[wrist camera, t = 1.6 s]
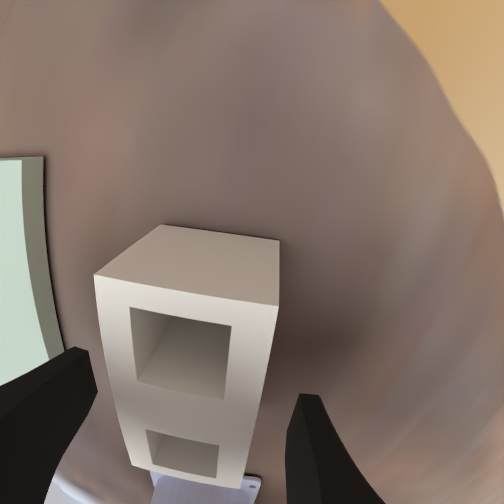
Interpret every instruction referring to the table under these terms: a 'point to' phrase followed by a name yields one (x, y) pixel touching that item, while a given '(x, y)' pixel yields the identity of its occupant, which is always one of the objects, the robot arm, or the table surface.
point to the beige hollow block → (189, 347)
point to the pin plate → (24, 272)
